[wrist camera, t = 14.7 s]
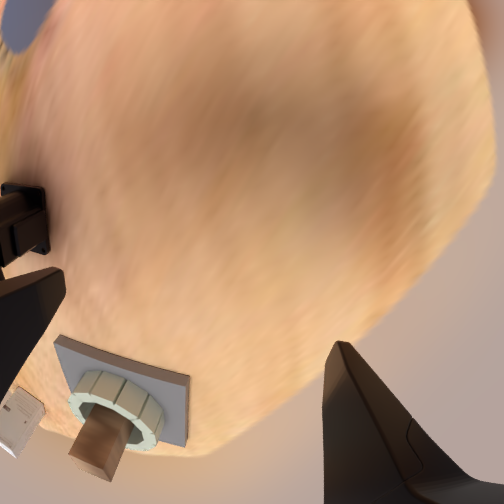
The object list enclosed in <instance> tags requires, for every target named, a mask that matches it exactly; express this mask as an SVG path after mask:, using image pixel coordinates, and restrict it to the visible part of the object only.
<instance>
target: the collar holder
mask: <svg viewBox="0 0 504 504" xmlns="http://www.w3.org/2000/svg"><path fill="white" fill-rule="evenodd" d="M53 343H54V346H55V349H56V353H57V356H58V359H59V361H60V364H61V367H62V370H63V373H64V376H65V378H66V381H67V383H68V386H69V389H70V391H71V396H70V397H69V399H68V404H69V406H70V408H71V410H72V412H73V414H74V415H75V417H76V418H77V419H78V420H79V421H80V422H81V423H82V424H83V425H84V423H85V421H86V419H87V417H88V416H89V414H90V412H91V410H92V408H93V406H94V405H95V403H98V404H100V405H103V406H105V407H108V408H111V409H113V410H115V411H116V412H118V413H119V414H121V415H123V416H124V417H126V418H127V419H129V420H131V421H132V422H133V423H134V424H135V425H134V428H133V430H132V432H131V435H130V437H129V439H128V442H127V444H126V447H125V448H126V449H128V448H129V449H130V450H140V451H146V450H147V451H148V450H150V449H152V448H154V447H155V446H156V445H157V443H158V440H159V441H162V442H166V443H169V444H173V445H177V446H181V447H185V446H186V442H187V434H188V397H189V376H186V375H182V374H178V373H175V372H171V371H167V370H163V369H160V368H156V367H152V366H149V365H145V364H142V363H139V362H135V361H132V360H129V359H126V358H123V357H120V356H117V355H113V354H110V353H108V352H105V351H102V350H99V349H96V348H93V347H90V346H88V345H85V344H82V343H80V342H77V341H74V340H72V339H69V338H67V337H64V336H62V335H59V336H58V338H57V339H56V340H55V341H54V342H53Z"/></svg>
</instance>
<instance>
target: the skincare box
mask: <svg viewBox="0 0 504 504" xmlns="http://www.w3.org/2000/svg"><path fill="white" fill-rule="evenodd" d="M44 415H45V409H44V405H43V403H41V402H40V401H38V400H37V399H35V398H34V397H33V396H31V395H30V394H29V393H27V392H26V391H25V390H23V389H22V388H21V387H18V388H17V389H16V390H15V392H14V393H13V394H12V395H11V397H10V398H9V400H8V401H7V402H6V404H5V405H4V406H3V408H2V409H1V411H0V446H1V447H2V448H4V449H5V450H6V451H7V452H9V453H10V454H11V455H13V456H14V457H15V458H18V456H19V455H20V453H21V451H22V450H23V448H24V447H25V445H26V443H27V441H28V440H29V438H30V437H31V435H32V434H33V432H34V430H35V429H36V427H37V426H38V424H39V422H40V421H41V419H42V418H43V416H44Z"/></svg>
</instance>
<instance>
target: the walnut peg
mask: <svg viewBox="0 0 504 504" xmlns="http://www.w3.org/2000/svg"><path fill="white" fill-rule="evenodd" d="M134 425H135V424H134V423H133V422H132V421H131V420H129V419H127V418H126V417H124V416H123V415H121V414H119V413H118V412H116V411H115V410H113V409H111V408H108V407H105V406H103V405H100V404H98V403H95V405H94V406H93V408H92V410H91V412H90V414H89V416H88V417H87V419H86V421H85V423H84V425H83V427H82V428H81V430H80V432H79V434H78V436H77V438H76V440H75V442H74V444H73V446H72V448H71V450H70V452H69V453H68V454H69V456H70V457H71V459H72V460H73V461H74V462H75V464H76V465H77V467H78V468H79V469H81V470H83V471H85V472H88V473H90V474H92V475H94V476H97V477H99V478H101V479H104V480H106V481H109V482H111V481H112V478H113V476H114V474H115V471H116V469H117V466H118V464H119V461H120V458H121V456H122V454H123V451H124V449H125V447H126V444H127V442H128V439H129V437H130V435H131V432H132V430H133V428H134Z"/></svg>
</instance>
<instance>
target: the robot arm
mask: <svg viewBox="0 0 504 504" xmlns="http://www.w3.org/2000/svg"><path fill="white" fill-rule="evenodd" d="M39 192H40V194H39ZM28 251H32V252H35V253H39V254H42V255H46V254H48V253H49V241H48V232H47V222H46V208H45V192H44V189H43V188H42V187H36V186H29V185H21V184H12V183H3V184H2V185H1V197H0V404H1V401H2V400H3V398H4V396H5V395H6V393H7V391H8V389H9V388H10V386H11V384H12V383H13V381H14V379H15V377H16V376H17V374H18V372H19V371H20V369H21V368H22V366H23V364H24V363H25V361H26V360H27V358H28V356H29V355H30V353H31V352H32V350H33V349H34V347H35V346H36V344H37V343H38V341H39V340H40V338H41V337H42V335H43V334H44V332H45V330H46V329H47V327H48V325H49V324H50V322H51V320H52V318H53V316H54V315H55V313H56V311H57V309H58V308H59V306H60V304H61V302H62V301H63V299H64V297H65V295H66V286H65V278H64V272H63V270H61V269H59V268H56V267H49V268H45V269H42V270H38V271H34V272H31V273H27V274H24V275H20V276H17V277H13V278H10V279H6V280H5V277H4V275H3V272H2V269H1V268H2V267H3V268H4V267H6V266H7V265H9V264H10V263H11V262H13V261H14V260H15V259H17V258H18V257H21V256H23V255H24V254H25V253H27V252H28ZM322 418H323V419H322V420H323V450H324V504H504V485H503V484H496V483H489V482H484V481H480V480H477V479H474V478H472V477H471V476H469V475H468V474H466V473H465V472H464V471H463V470H462V469H461V468H460V467H459V466H458V465H457V464H456V463H455V462H454V461H453V460H452V459H451V458H450V457H449V456H448V455H447V454H446V453H445V452H444V451H443V450H442V449H441V448H440V447H439V446H438V445H437V444H436V443H435V442H434V441H433V440H432V439H431V438H430V437H429V436H428V434H426V432H425V431H424V430H423V429H422V428H421V426H420V425H419V424H418V423H417V422H416V420H415V419H414V418H412V416H411V415H410V413H409V412H408V411H407V410H406V409H405V407H404V406H403V405H402V404H401V403H400V401H399V400H398V399H397V398H396V397H395V396H394V394H393V393H392V392H391V391H390V390H389V388H387V386H386V385H385V384H384V382H383V381H382V380H381V379H380V378H379V377H378V375H377V374H376V373H375V372H374V371H373V370H372V368H371V367H370V366H369V365H368V364H367V363H366V361H365V360H364V359H363V358H362V357H361V355H360V354H359V353H358V352H357V351H356V350H355V348H354V347H353V346H352V345H351V344H350V343H349V342H344V341H336V342H335V343H334V345H333V347H332V349H331V351H330V354H329V356H328V358H327V360H326V363H325V373H324V390H323V402H322Z"/></svg>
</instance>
